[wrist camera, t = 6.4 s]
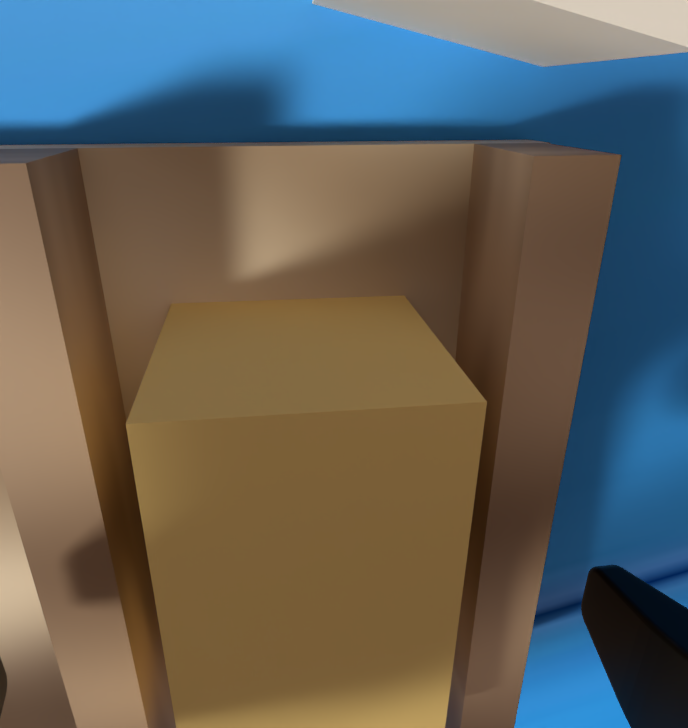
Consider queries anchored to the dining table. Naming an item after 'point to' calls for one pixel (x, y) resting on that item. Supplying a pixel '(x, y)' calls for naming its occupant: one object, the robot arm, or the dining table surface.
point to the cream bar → (539, 26)
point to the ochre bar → (306, 511)
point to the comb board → (271, 282)
